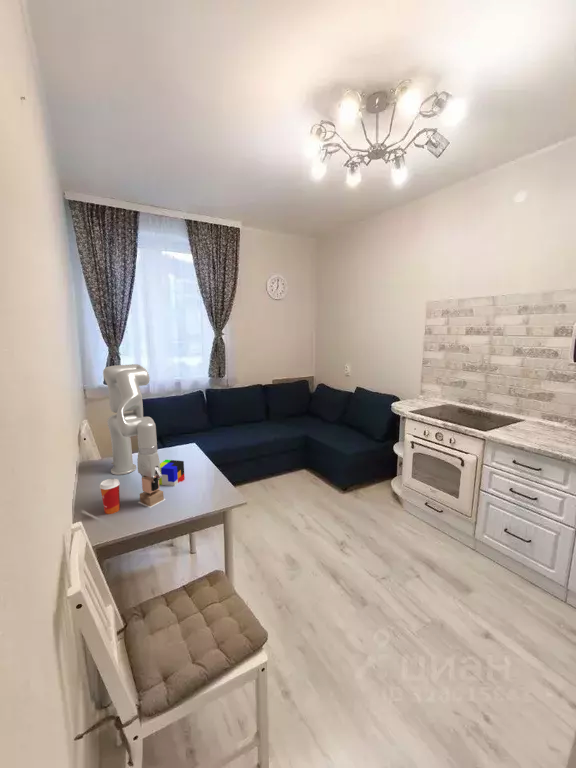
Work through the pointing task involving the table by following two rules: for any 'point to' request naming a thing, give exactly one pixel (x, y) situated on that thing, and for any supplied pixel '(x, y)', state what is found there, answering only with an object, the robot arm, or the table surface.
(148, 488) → the top block
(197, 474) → the table surface
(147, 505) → the build mat
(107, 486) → the paper cup
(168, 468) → the puzzle toy
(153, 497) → the base block
